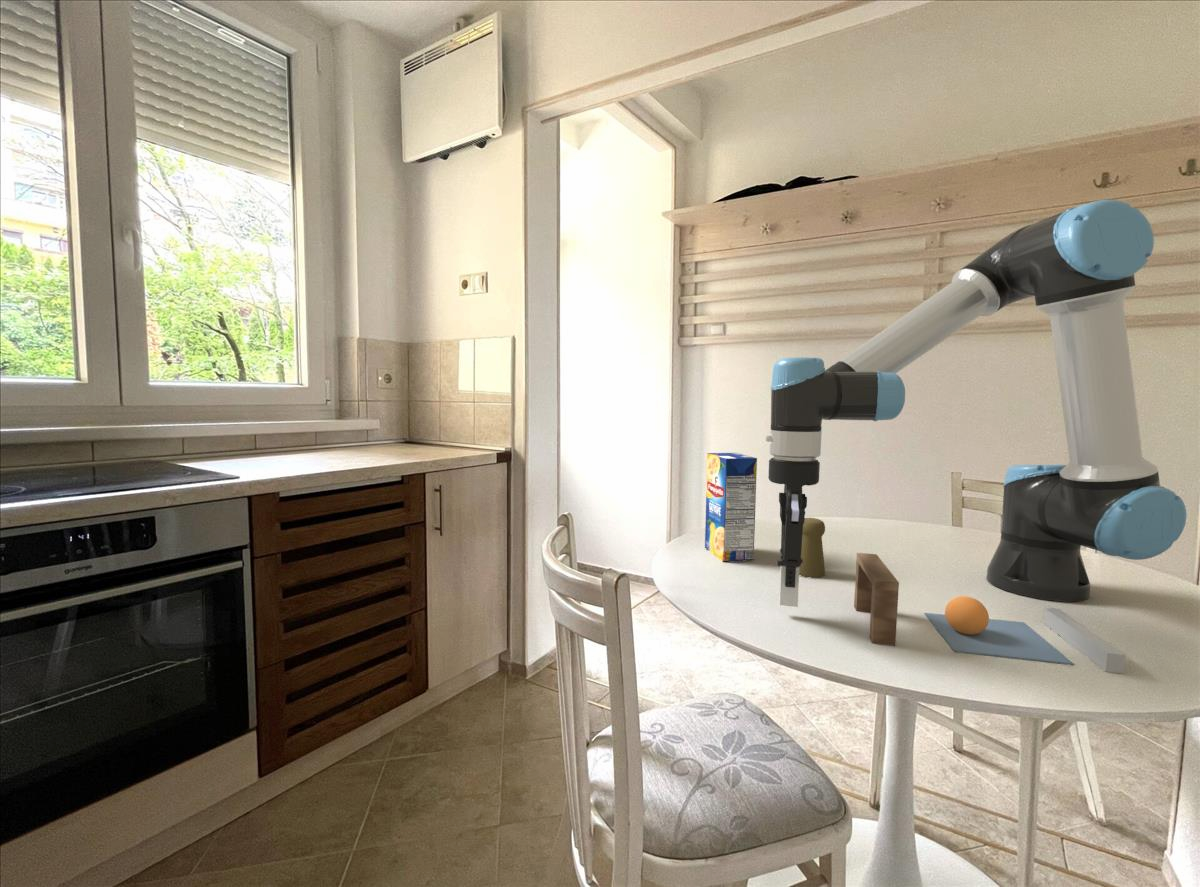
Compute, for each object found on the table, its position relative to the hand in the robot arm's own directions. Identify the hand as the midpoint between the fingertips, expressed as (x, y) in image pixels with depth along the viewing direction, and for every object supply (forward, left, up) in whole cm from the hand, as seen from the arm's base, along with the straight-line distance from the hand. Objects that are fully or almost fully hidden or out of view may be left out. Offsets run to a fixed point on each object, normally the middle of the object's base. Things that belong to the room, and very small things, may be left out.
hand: (788, 604), depth 90 cm
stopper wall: (-40, 0, -2) cm, 40 cm away
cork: (-6, -24, -2) cm, 25 cm away
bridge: (-12, 0, -2) cm, 13 cm away
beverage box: (+10, -33, -2) cm, 35 cm away
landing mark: (-28, 0, -2) cm, 29 cm away
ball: (-25, 0, +1) cm, 25 cm away
